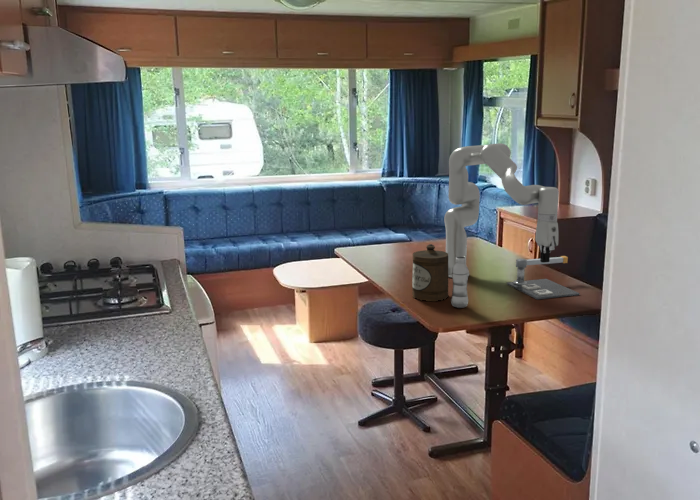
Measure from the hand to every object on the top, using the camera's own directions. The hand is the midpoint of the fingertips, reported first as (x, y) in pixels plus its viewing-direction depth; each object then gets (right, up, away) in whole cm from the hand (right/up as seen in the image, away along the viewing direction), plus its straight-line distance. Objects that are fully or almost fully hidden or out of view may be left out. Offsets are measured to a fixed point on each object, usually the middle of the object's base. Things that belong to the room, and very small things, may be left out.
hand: (544, 261), depth 262 cm
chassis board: (+2, -12, +11) cm, 16 cm away
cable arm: (+4, -2, +18) cm, 19 cm away
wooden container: (-47, -15, +3) cm, 49 cm away
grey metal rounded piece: (-5, -10, +18) cm, 21 cm away
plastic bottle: (-37, -18, -12) cm, 43 cm away
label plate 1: (-2, -12, +12) cm, 17 cm away
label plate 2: (0, -14, +3) cm, 14 cm away
